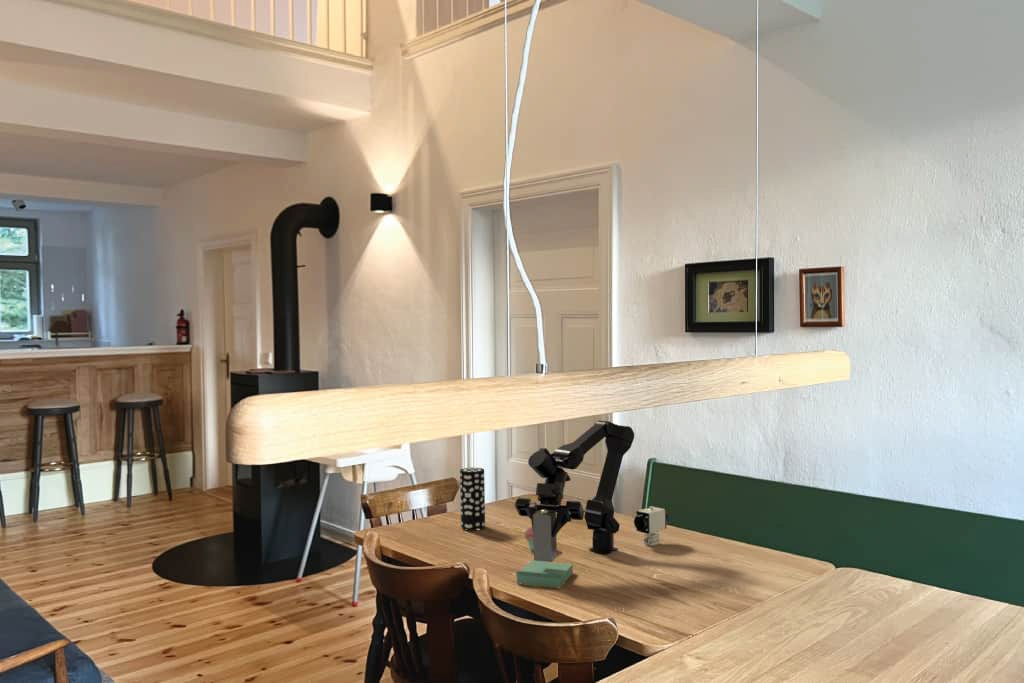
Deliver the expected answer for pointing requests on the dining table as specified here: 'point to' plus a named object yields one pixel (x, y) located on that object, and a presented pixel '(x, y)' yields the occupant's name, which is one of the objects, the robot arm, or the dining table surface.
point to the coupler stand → (544, 574)
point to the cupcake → (529, 537)
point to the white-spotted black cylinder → (472, 498)
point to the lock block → (544, 535)
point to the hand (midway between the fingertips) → (543, 535)
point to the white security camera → (651, 523)
